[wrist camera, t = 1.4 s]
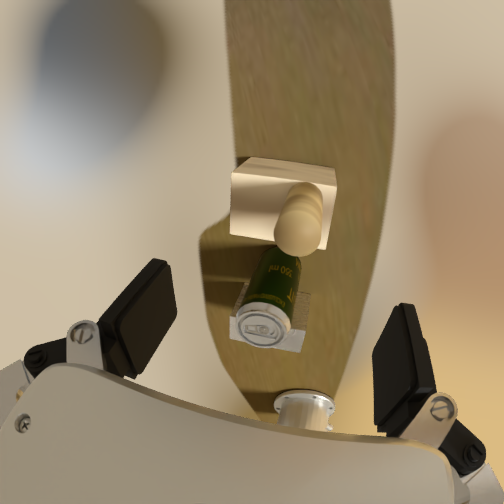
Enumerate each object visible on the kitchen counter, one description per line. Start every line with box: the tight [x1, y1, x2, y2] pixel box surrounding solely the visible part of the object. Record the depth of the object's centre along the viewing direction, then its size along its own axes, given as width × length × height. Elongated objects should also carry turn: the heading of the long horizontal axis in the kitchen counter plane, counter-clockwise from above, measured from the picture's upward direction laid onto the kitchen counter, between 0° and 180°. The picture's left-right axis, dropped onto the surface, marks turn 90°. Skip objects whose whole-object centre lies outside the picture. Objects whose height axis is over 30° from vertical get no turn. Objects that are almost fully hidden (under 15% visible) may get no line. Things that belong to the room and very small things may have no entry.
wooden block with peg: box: [230, 157, 337, 256], centre depth 25 cm, size 6×9×14 cm, turn 87°
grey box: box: [230, 282, 311, 353], centre depth 36 cm, size 4×9×7 cm, turn 87°
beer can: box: [235, 247, 301, 348], centre depth 31 cm, size 5×5×12 cm
